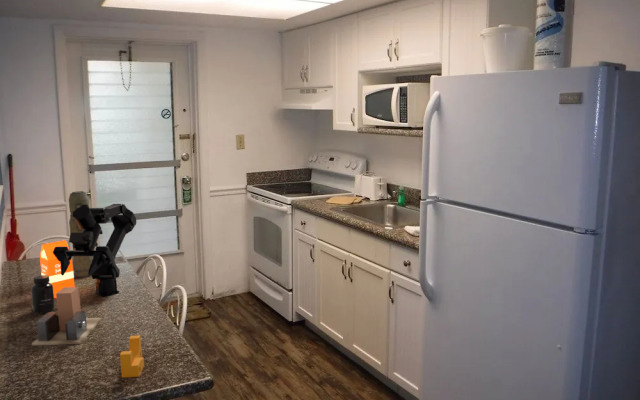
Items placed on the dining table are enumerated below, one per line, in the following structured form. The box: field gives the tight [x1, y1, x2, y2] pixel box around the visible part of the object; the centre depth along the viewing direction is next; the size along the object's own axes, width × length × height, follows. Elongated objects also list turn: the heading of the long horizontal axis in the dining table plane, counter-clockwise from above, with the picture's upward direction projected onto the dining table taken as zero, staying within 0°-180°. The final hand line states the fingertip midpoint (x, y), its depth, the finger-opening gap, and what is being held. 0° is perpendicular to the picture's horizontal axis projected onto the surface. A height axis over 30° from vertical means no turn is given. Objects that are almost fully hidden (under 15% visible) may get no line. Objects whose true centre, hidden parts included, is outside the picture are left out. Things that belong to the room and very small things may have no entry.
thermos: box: [68, 191, 93, 278], centre depth 232 cm, size 9×12×35 cm
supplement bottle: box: [30, 275, 56, 314], centre depth 192 cm, size 7×7×12 cm
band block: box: [36, 310, 87, 341], centre depth 169 cm, size 8×13×6 cm, turn 93°
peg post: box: [56, 286, 82, 331], centre depth 175 cm, size 6×4×12 cm
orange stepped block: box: [119, 334, 145, 378], centre depth 149 cm, size 12×4×6 cm, turn 6°
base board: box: [31, 317, 103, 346], centre depth 174 cm, size 19×14×1 cm
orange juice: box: [39, 239, 76, 299], centre depth 209 cm, size 8×9×20 cm
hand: (75, 274), depth 185 cm, fingers open, 9 cm apart
